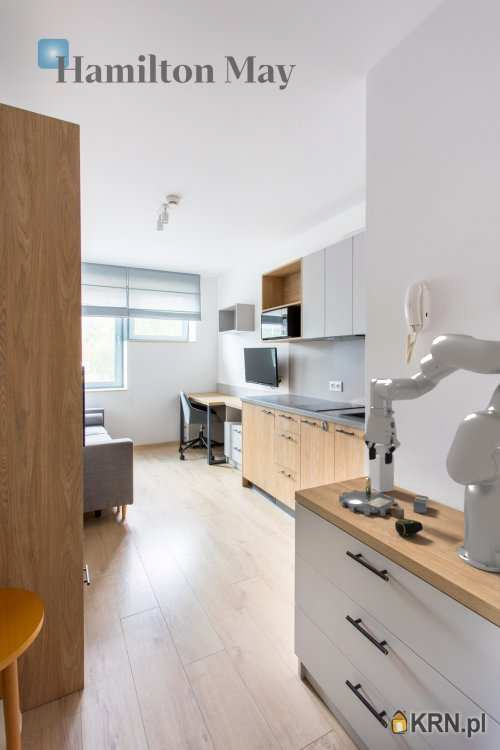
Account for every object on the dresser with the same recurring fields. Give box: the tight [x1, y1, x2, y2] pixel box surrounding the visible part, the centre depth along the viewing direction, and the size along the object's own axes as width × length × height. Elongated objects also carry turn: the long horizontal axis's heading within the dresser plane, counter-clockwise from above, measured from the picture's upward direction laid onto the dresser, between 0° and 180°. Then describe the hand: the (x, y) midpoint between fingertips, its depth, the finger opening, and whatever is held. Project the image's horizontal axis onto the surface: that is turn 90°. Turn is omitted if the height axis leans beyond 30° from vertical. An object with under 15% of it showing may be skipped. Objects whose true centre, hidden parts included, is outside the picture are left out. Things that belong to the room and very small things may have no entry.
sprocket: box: [338, 476, 399, 517], centre depth 134 cm, size 21×21×8 cm
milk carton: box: [368, 444, 395, 493], centre depth 152 cm, size 7×7×19 cm
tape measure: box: [394, 518, 424, 536], centre depth 111 cm, size 7×7×4 cm
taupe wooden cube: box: [391, 506, 405, 520], centre depth 124 cm, size 3×2×3 cm
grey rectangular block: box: [412, 494, 429, 515], centre depth 131 cm, size 4×8×4 cm, turn 148°
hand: (380, 461), depth 131 cm, fingers open, 6 cm apart
